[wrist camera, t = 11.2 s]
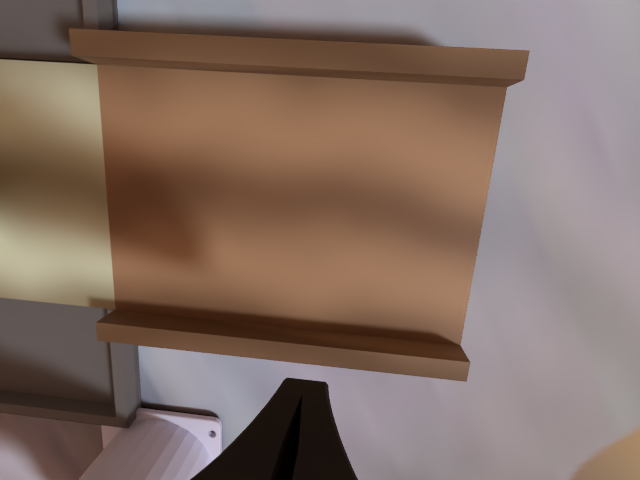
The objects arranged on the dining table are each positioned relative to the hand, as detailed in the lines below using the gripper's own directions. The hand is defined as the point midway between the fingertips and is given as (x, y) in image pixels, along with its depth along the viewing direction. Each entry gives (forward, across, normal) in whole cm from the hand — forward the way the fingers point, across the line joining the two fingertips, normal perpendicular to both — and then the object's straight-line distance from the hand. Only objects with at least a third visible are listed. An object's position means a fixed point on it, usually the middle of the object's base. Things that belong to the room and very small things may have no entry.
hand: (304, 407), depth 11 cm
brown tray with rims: (+9, +9, -5) cm, 14 cm away
